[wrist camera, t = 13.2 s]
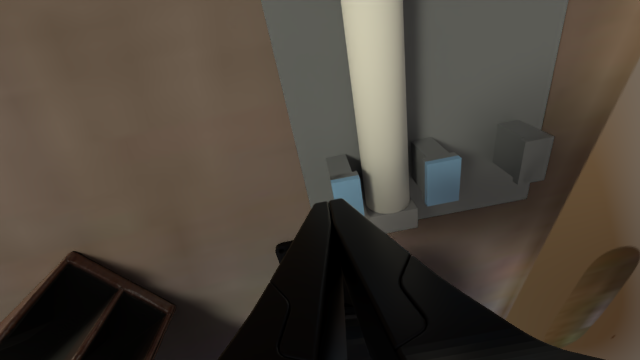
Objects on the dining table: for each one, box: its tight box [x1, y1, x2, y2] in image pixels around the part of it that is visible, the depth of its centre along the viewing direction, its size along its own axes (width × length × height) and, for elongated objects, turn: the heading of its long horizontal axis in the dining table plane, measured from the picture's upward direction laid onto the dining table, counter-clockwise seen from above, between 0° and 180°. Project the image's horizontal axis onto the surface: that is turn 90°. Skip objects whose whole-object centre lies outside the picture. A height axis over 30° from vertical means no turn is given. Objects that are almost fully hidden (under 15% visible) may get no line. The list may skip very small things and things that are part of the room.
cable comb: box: [261, 0, 568, 219], centre depth 16 cm, size 17×25×4 cm
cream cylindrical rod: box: [341, 0, 418, 233], centre depth 16 cm, size 21×3×3 cm, turn 10°
